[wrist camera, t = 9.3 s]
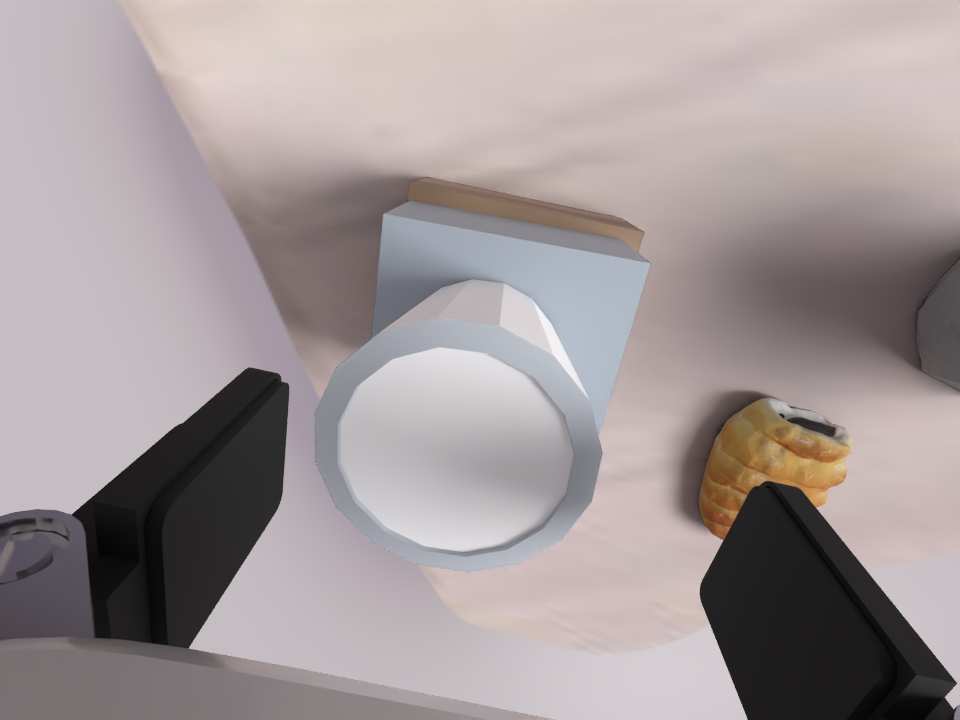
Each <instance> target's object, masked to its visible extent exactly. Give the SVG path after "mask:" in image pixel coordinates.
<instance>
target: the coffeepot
mask: <svg viewBox="0 0 960 720" xmlns="http://www.w3.org/2000/svg"><path fill="white" fill-rule="evenodd" d="M916 343H917V348H918V353H919V355H920V357H921V366H922V372H924V373H926V374H928V375H930V376H932V377H934V378H936V379H938V380H940V381H942V382H944V383H946V384H948V385H950V386H952V387H954V388H956V389H958V390H960V259H959V260H958V261H957V262H956V263H955V264H954V265H953V266H952V267H951V268H950V269H949V270H948V271H947V272H946V273H945V274H944V275H943V276H942V277H941V278H940V279H939V280H938V282H937V283H936V285H935V286H934V287H933V289H932V290H931V292H930V293H929V294H928V296H927V299H926V301H925V303H924V305H923V306H922V307H921V308H920V310H919V311H918V318H917V329H916Z"/></svg>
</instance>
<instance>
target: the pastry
mask: <svg viewBox="0 0 960 720" xmlns="http://www.w3.org/2000/svg"><path fill="white" fill-rule="evenodd" d="M851 445H852V437H851V434H850V433H849V432H848V431H847V430H846V429H845V428H844V427H842V426H838V425H835V424H831V423H829V422H827V421H824V418H823V417H822V416H821V415H819V414H817V413H814V412H812V411H805V410H801V409H796V408H790V407H789V406H788V405H787V404H786V403H785V402H783V401H781V400H777V399H773V398H770V397H769V398H763V399H759V400H757V401H755V402H753V403H752V404H750V405H748V406H746V407H745V408H744V409H742V410H740V411H738V412H737V413H735V414H734V415H732V416H731V417H730V418H729V419H728V420H726V422H725V424H724V426H723V428H722V429H721V431H720V433H719V434H718V435H717V436H716V437H715V440H714V443H713V447H712V449H711V451H710V455H709V458H708V460H707V463H706V468H705V472H704V477H703V480H702V484H701V489H700V494H699V500H698V501H699V507H700V513H701V516H702V519H703V521H704V524H705V526H706V527H707V528H708V529H709V530H710V532H711V533H712V534H713V535H715V536H717V537H719V538H720V539H722V540H724V539H725V537H726V535H727V533H728V531H729V529H730V527H731V526H732V524H733V522H734V520H735V518H736V516H737V514H738V512H739V511H740V509H741V507H742V505H743V503H744V501H745V499H746V497H747V495H748V494H749V492H750V490H751V489H752V488H753V487H754V486H760V484H762V483H763V482H765V481H772V482H777V483H781V484H786V485H790V486H795V487H798V488H799V489H801V490H802V491H803V492H804V494H805V495H806V496H807V497H808V499H809V500H810V501H811V502H812V504H813V505H814V506H815V507H818V506H822V505H823V504H825V503H826V500H827V489H828V488H830V487H832V486H836V485H838V484H840V483H842V482H843V481H844V479H845V477H846V473H847V471H846V465H845V458H846V457H847V456H848V455H849V454H850V453H851Z"/></svg>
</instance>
